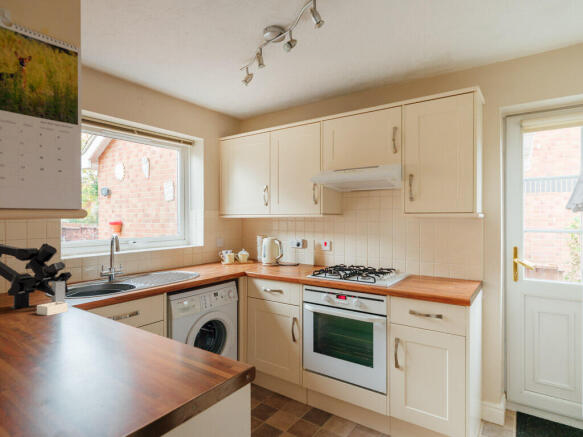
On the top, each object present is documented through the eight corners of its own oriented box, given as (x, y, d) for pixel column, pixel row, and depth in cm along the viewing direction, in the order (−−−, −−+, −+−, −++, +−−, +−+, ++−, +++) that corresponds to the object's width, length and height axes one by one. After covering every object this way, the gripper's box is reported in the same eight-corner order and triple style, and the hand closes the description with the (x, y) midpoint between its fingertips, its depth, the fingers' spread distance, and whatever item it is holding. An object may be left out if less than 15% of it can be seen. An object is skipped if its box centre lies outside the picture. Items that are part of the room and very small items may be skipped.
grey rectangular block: (50, 308, 151) (50, 282, 151) (60, 306, 155) (60, 280, 155) (55, 309, 149) (56, 282, 149) (66, 307, 153) (66, 281, 153)
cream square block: (36, 313, 142) (36, 305, 142) (57, 309, 149) (57, 301, 149) (47, 315, 138) (47, 306, 138) (67, 311, 145) (67, 303, 145)
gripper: (32, 258, 144) (53, 284, 142) (68, 255, 163) (88, 278, 160) (16, 276, 146) (37, 302, 143) (54, 271, 164) (73, 294, 161)
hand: (61, 293), depth 152 cm, fingers open, 7 cm apart
